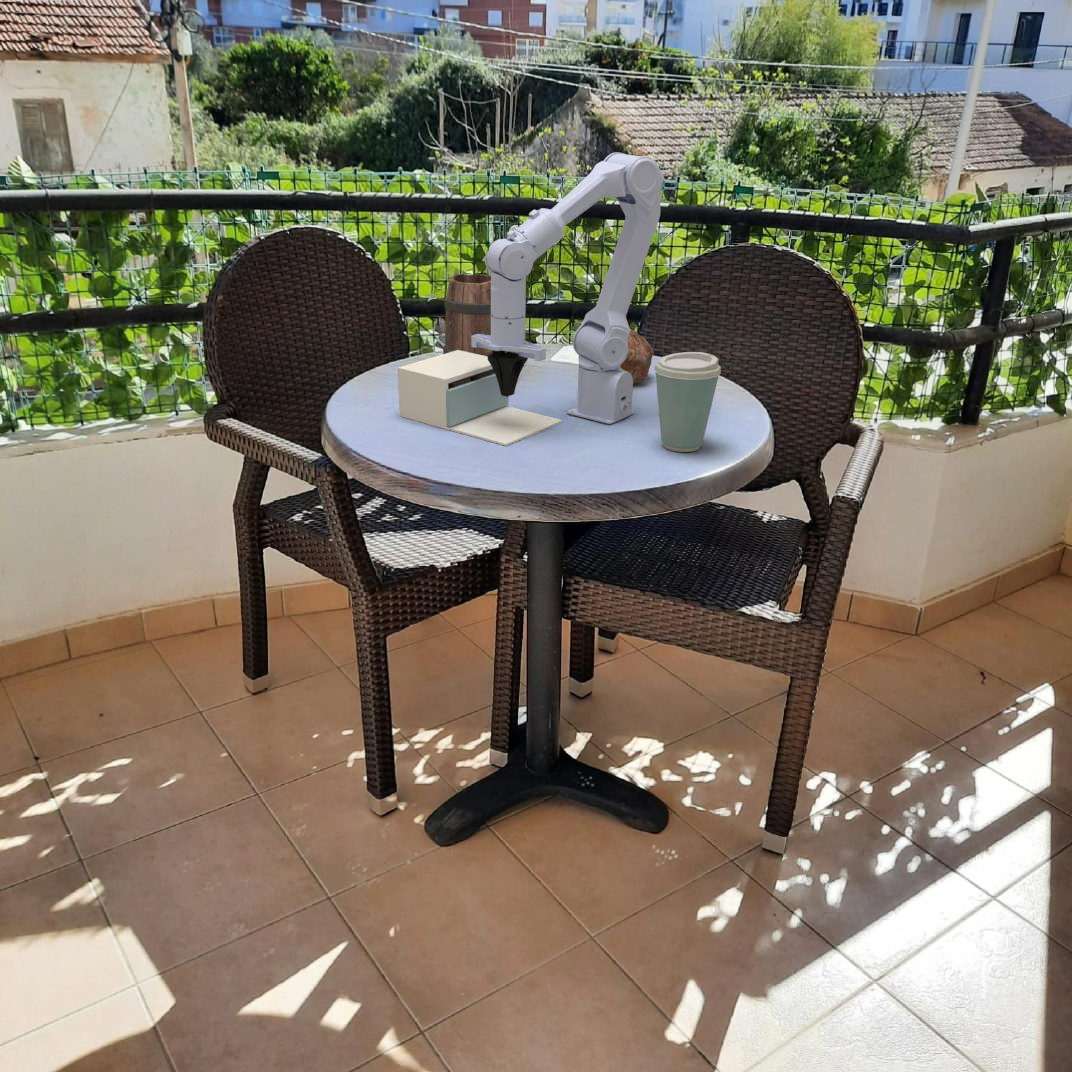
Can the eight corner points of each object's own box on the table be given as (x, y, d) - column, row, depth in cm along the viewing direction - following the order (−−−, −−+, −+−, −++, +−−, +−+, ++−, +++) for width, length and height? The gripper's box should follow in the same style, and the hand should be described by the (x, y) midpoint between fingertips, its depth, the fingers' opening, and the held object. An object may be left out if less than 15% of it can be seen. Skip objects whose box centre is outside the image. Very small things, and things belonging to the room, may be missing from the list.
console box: (562, 422, 171) (563, 373, 167) (506, 446, 159) (506, 394, 155) (458, 395, 183) (457, 349, 180) (399, 416, 172) (397, 367, 168)
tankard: (486, 396, 183) (486, 290, 175) (416, 381, 191) (413, 278, 183) (550, 369, 201) (553, 271, 193) (484, 356, 209) (484, 262, 201)
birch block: (470, 405, 174) (470, 378, 172) (454, 411, 171) (454, 384, 169) (451, 400, 177) (451, 373, 174) (435, 406, 173) (434, 379, 171)
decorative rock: (598, 369, 202) (601, 321, 198) (652, 372, 201) (656, 324, 197) (592, 387, 191) (595, 336, 186) (649, 390, 189) (653, 340, 185)
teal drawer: (508, 404, 177) (508, 371, 174) (450, 426, 165) (449, 390, 162) (462, 392, 183) (461, 360, 180) (403, 413, 171) (401, 378, 168)
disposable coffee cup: (669, 460, 155) (677, 369, 148) (636, 439, 164) (642, 351, 157) (725, 452, 159) (735, 362, 152) (690, 431, 168) (698, 346, 161)
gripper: (459, 312, 161) (460, 391, 167) (528, 326, 153) (526, 408, 159) (486, 306, 166) (486, 382, 172) (554, 319, 158) (552, 398, 164)
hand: (507, 394), depth 166 cm, fingers closed
